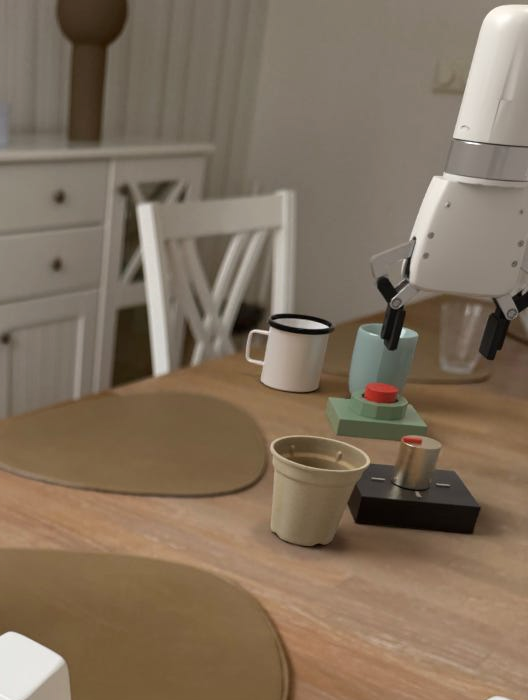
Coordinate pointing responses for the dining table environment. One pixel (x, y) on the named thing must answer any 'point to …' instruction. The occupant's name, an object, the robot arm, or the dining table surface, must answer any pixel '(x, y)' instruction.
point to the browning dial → (416, 462)
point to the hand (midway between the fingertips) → (437, 352)
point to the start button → (381, 393)
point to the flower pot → (312, 486)
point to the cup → (381, 359)
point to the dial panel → (413, 502)
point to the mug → (293, 351)
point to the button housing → (374, 418)
